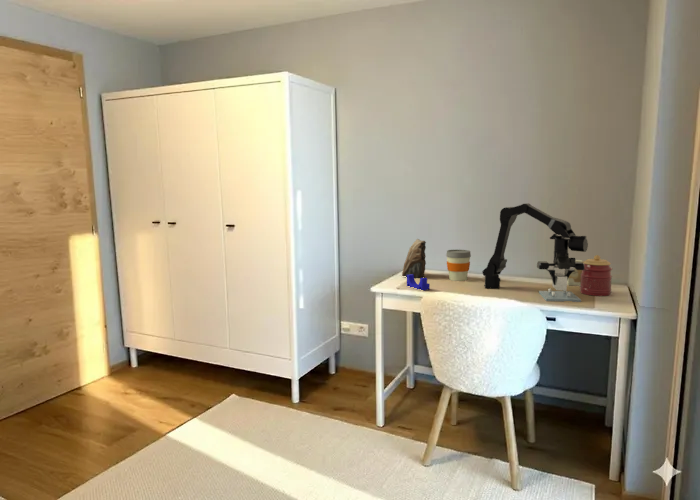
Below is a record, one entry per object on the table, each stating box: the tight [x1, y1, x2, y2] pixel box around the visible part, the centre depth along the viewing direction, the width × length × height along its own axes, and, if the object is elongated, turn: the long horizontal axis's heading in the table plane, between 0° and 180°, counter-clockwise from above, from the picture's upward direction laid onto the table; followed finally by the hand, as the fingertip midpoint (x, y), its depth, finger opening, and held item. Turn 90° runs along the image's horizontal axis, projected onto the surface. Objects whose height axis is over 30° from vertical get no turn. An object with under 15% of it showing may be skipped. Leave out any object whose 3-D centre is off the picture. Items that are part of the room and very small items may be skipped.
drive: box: [551, 272, 568, 291], centre depth 225 cm, size 4×9×6 cm, turn 171°
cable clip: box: [406, 274, 431, 291], centre depth 248 cm, size 12×4×6 cm, turn 31°
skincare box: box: [567, 259, 584, 287], centre depth 251 cm, size 6×4×12 cm
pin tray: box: [538, 288, 582, 303], centre depth 226 cm, size 14×16×3 cm
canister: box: [579, 254, 613, 297], centre depth 232 cm, size 13×13×18 cm
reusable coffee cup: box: [445, 249, 472, 282], centre depth 268 cm, size 13×13×15 cm
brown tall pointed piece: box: [401, 238, 427, 279], centre depth 276 cm, size 13×13×20 cm
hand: (559, 284), depth 225 cm, fingers closed on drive, 4 cm apart
